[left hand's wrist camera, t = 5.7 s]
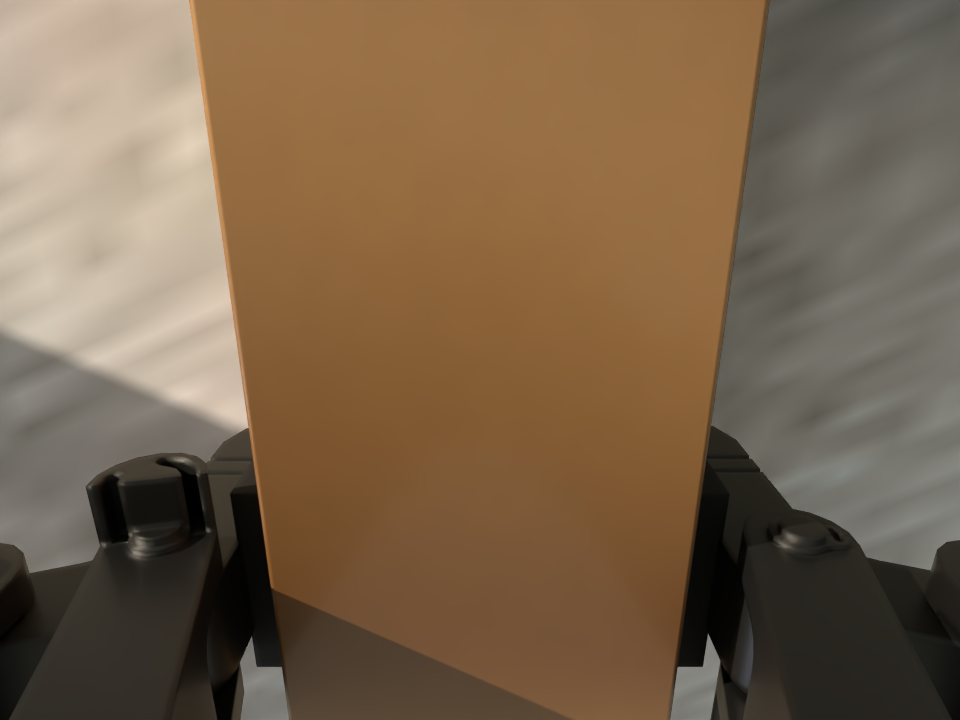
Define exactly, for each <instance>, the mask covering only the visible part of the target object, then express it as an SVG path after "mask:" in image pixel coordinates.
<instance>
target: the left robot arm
mask: <svg viewBox="0 0 960 720" xmlns="http://www.w3.org/2000/svg"><path fill="white" fill-rule="evenodd" d="M86 490H87V494H88V498H89V502H90V506H91V510H92V514H93V518H94V522H95V526H96V531H97V535H98V539H99V543H100V548H99V550H98V552H97V554H96V555H95V557H94V559H93V561H89V562H85V563H81V564H76V565H71V566H65V567H60V568H55V569H50V570H45V571H40V572H35V573H29V571H28V567H27V564H26V560H25V557H24V554H23V552H22V551H20V550H19V549H18V548H17V547H15V546H14V545H9V544H2V543H0V720H240V718H241V711H242V703H243V696H244V687H243V679H242V673H241V667H240V661H241V658H242V656H243V654H244V652H245V650H246V647H247V645H248V643H249V641H250V638H251V636H252V639H253V645H254V651H255V658H256V664H257V667H282V663H281V656H280V649H279V642H278V635H277V627H276V620H275V613H274V606H273V599H272V592H271V584H270V577H269V570H268V563H267V556H266V548H265V541H264V534H263V527H262V520H261V512H260V505H259V498H258V491H257V484H256V476H255V469H254V462H253V455H252V448H251V440H250V433H249V428H247V429H245V430H243V431H242V432H240V433H238V434H237V435H235V436H233V437H232V438H230V439H228V440H227V441H225V442H224V443H223V444H222V445H221V446H220V448H219V449H218V450H217V451H216V452H215V454H214V455H213V456H212V457H211V461H208V462H207V464H206V463H205V462H204V461H202V460H201V459H200V458H198V457H197V456H192V455H188V454H183V453H160V454H155V455H149V456H144V457H138V458H135V459H132V460H129V461H126V462H123V463H120V464H117V465H115V466H113V467H111V468H109V469H108V470H106V471H104V472H102V473H100V474H99V475H97V476H96V477H95V478H94V479H93V480H92V481H91V482H90V483H89V484H88V485H87V486H86ZM708 634H709V636H710V638H711V640H712V643H713V645H714V647H715V649H716V652H717V654H718V656H719V658H720V660H721V661H720V667H719V673H718V679H717V685H716V691H715V697H714V703H713V709H712V715H711V720H960V540H958V541H951V542H946V543H945V544H944V545H942V546H941V547H940V548H939V549H937V552H936V555H935V559H934V562H933V565H932V569H931V570H925V569H920V568H915V567H910V566H905V565H899V564H894V563H889V562H884V561H879V560H875V559H871V558H867V557H866V556H865V554H864V552H863V550H862V549H861V547H860V545H859V544H858V543H857V542H856V540H855V539H854V538H853V537H852V536H851V534H850V533H849V532H847V531H846V530H844V529H843V528H841V527H840V526H838V525H836V524H835V523H833V522H832V521H830V520H827V519H825V518H822V517H820V516H817V515H815V514H812V513H809V512H804V511H799V510H795V509H792V508H791V506H790V505H789V504H788V503H787V501H786V500H785V499H784V498H783V497H782V495H781V494H780V493H779V492H778V490H777V489H776V488H775V487H774V486H773V484H772V483H771V482H770V481H769V480H768V478H767V477H766V476H765V475H764V473H763V472H760V469H759V467H758V466H757V465H756V464H755V462H754V461H753V460H752V459H749V455H748V454H747V453H746V451H745V450H744V449H743V448H742V447H741V445H740V444H739V443H738V442H737V440H735V439H734V438H732V437H730V436H729V435H727V434H725V433H724V432H722V431H720V430H719V429H717V428H715V427H714V426H711V429H710V436H709V443H708V450H707V458H706V465H705V472H704V479H703V486H702V494H701V501H700V508H699V515H698V522H697V530H696V537H695V544H694V551H693V558H692V566H691V573H690V580H689V587H688V594H687V602H686V609H685V616H684V623H683V631H682V638H681V645H680V652H679V659H678V667H703V662H704V655H705V649H706V642H707V636H708Z"/></svg>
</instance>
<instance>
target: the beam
mask: <svg viewBox="0 0 960 720" xmlns="http://www.w3.org/2000/svg"><path fill="white" fill-rule="evenodd" d="M189 2H190V9H191V16H192V23H193V30H194V38H195V45H196V52H197V59H198V66H199V74H200V81H201V88H202V95H203V102H204V110H205V117H206V124H207V131H208V138H209V146H210V153H211V160H212V167H213V174H214V182H215V189H216V196H217V203H218V210H219V217H220V225H221V232H222V239H223V246H224V253H225V261H226V268H227V275H228V282H229V289H230V297H231V304H232V311H233V318H234V325H235V333H236V340H237V347H238V354H239V361H240V369H241V376H242V383H243V390H244V397H245V404H246V412H247V419H248V426H249V433H250V440H251V448H252V455H253V462H254V469H255V476H256V484H257V491H258V498H259V505H260V512H261V520H262V527H263V534H264V541H265V548H266V556H267V563H268V570H269V577H270V584H271V592H272V599H273V606H274V613H275V620H276V627H277V635H278V642H279V649H280V656H281V663H282V671H283V678H284V685H285V692H286V699H287V707H288V714H289V720H670V717H671V710H672V703H673V695H674V688H675V681H676V674H677V667H678V659H679V652H680V645H681V638H682V631H683V623H684V616H685V609H686V602H687V594H688V587H689V580H690V573H691V566H692V558H693V551H694V544H695V537H696V530H697V522H698V515H699V508H700V501H701V494H702V486H703V479H704V472H705V465H706V458H707V450H708V443H709V436H710V429H711V422H712V414H713V407H714V400H715V393H716V386H717V378H718V371H719V364H720V357H721V350H722V342H723V335H724V328H725V321H726V313H727V306H728V299H729V292H730V285H731V277H732V270H733V263H734V256H735V249H736V241H737V234H738V227H739V220H740V213H741V205H742V198H743V191H744V184H745V177H746V169H747V162H748V155H749V148H750V141H751V133H752V126H753V119H754V112H755V105H756V97H757V90H758V83H759V76H760V69H761V61H762V54H763V47H764V40H765V33H766V25H767V18H768V11H769V4H770V0H189Z"/></svg>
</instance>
